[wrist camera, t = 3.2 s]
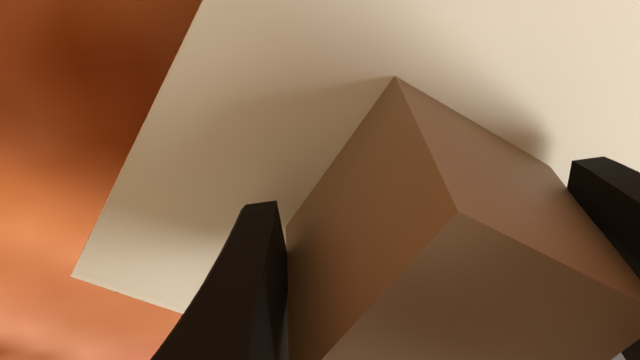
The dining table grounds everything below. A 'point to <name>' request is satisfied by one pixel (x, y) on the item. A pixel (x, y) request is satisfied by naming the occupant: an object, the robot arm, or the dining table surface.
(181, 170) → the cover
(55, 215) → the dining table surface
